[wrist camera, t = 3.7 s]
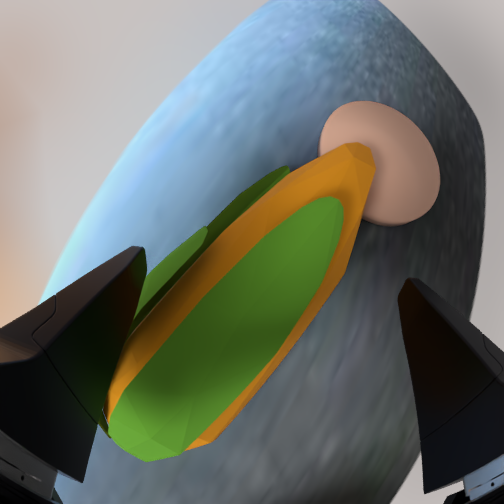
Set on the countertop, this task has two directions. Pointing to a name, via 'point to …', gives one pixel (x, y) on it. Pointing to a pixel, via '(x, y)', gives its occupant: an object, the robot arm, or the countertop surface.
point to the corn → (234, 304)
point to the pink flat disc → (387, 160)
